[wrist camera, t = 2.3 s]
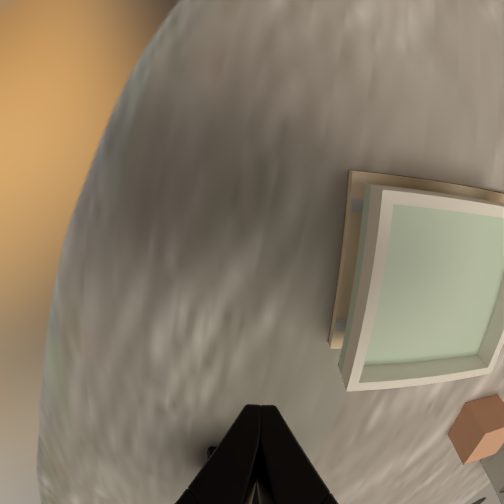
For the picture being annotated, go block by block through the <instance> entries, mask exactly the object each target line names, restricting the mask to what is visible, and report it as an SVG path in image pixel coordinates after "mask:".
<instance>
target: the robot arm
mask: <svg viewBox="0 0 504 504" xmlns="http://www.w3.org/2000/svg"><path fill="white" fill-rule="evenodd" d="M207 455H208V460H207V462H206V463H205V465H204V466H203V467H202V469H201V470H200V472H199V473H198V474H197V476H196V477H195V478H194V480H193V481H192V482H191V484H190V485H189V486H188V489H186V490H185V491H184V493H183V494H182V495H181V497H180V498H179V499H178V501H177V502H176V503H175V504H338V502H337V501H336V499H335V498H334V497H333V495H332V494H331V493H330V491H329V489H328V488H327V486H326V485H325V483H324V482H323V480H322V479H321V477H320V476H319V474H318V473H317V471H316V470H315V468H314V466H313V465H312V463H311V462H310V460H309V459H308V457H307V456H306V454H305V452H304V451H303V449H302V448H301V446H300V445H299V443H298V441H297V440H296V438H295V437H294V435H293V433H292V432H291V430H290V428H289V427H288V425H287V424H286V422H285V420H284V419H283V417H282V415H281V414H280V412H279V410H278V409H277V407H276V406H274V405H261V406H260V405H254V404H247V405H245V406H244V408H243V409H242V411H241V413H240V414H239V416H238V417H237V419H236V420H235V422H234V423H233V424H232V426H231V427H230V429H229V430H228V432H227V433H226V435H225V436H224V438H223V439H222V441H221V442H220V443H219V445H218V446H217V448H215V447H210V448H208V451H207ZM329 493H330V494H329Z"/></svg>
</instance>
